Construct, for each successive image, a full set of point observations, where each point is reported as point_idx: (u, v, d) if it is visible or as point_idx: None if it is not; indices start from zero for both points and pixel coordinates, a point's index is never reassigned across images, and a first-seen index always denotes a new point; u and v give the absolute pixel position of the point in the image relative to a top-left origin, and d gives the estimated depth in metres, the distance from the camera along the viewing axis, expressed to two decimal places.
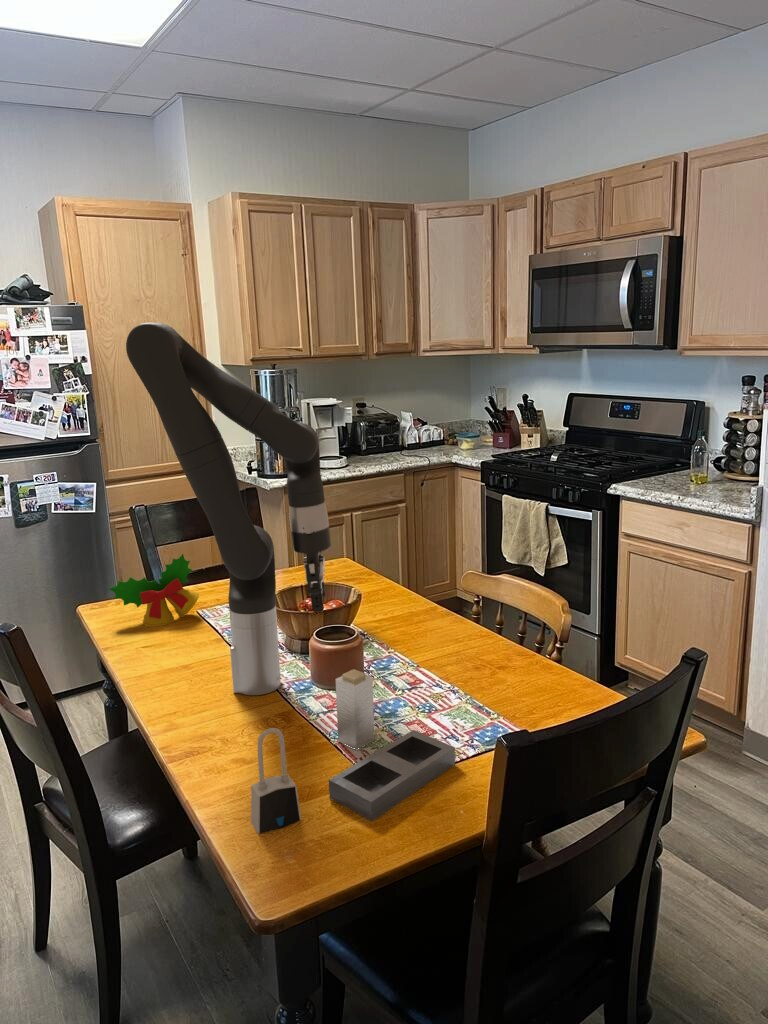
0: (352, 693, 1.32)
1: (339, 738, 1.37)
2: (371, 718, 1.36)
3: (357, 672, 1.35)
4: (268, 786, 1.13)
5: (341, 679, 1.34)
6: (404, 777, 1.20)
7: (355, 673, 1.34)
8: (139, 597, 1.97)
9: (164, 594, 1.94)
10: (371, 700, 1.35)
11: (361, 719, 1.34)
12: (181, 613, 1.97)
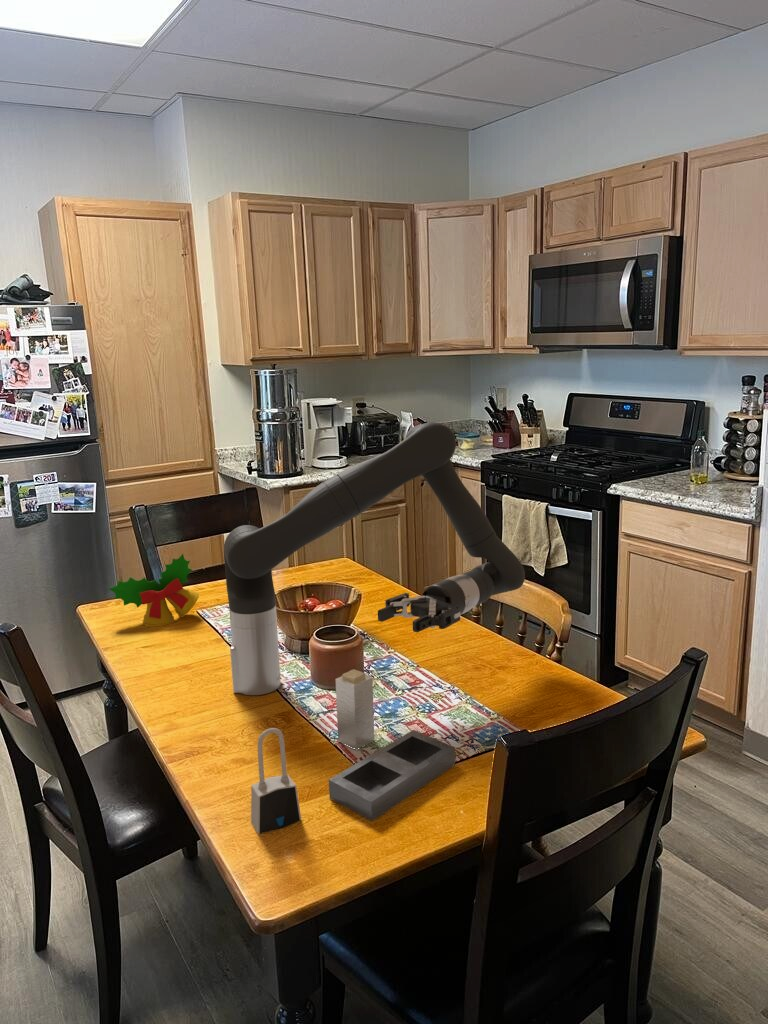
0: (352, 693, 1.32)
1: (339, 738, 1.37)
2: (371, 718, 1.36)
3: (357, 672, 1.35)
4: (268, 786, 1.13)
5: (341, 679, 1.34)
6: (404, 777, 1.20)
7: (355, 673, 1.34)
8: (139, 597, 1.97)
9: (164, 594, 1.94)
10: (371, 700, 1.35)
11: (361, 719, 1.34)
12: (181, 613, 1.97)
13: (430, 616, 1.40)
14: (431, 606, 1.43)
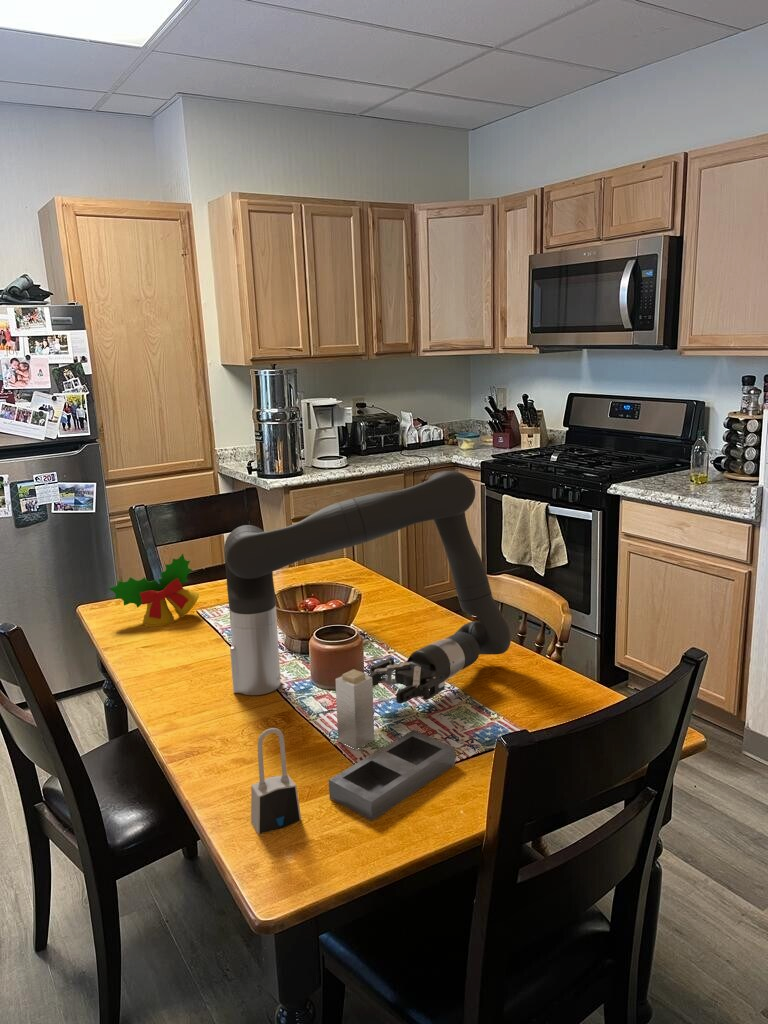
0: (352, 693, 1.32)
1: (339, 738, 1.37)
2: (371, 718, 1.36)
3: (357, 672, 1.35)
4: (268, 786, 1.13)
5: (341, 679, 1.34)
6: (404, 777, 1.20)
7: (355, 673, 1.34)
8: (139, 597, 1.97)
9: (164, 594, 1.94)
10: (371, 700, 1.35)
11: (361, 719, 1.34)
12: (181, 613, 1.97)
13: (414, 686, 1.40)
14: (415, 675, 1.42)
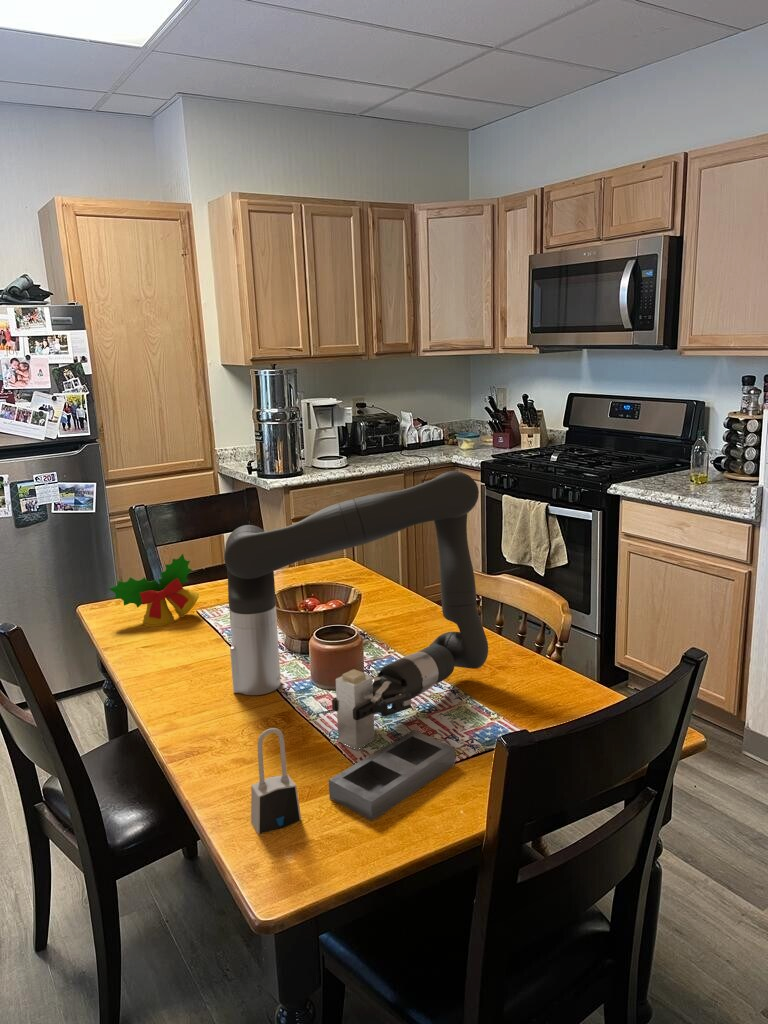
0: (353, 693, 1.32)
1: (339, 738, 1.37)
2: (371, 718, 1.36)
3: (357, 672, 1.35)
4: (268, 786, 1.13)
5: (341, 679, 1.34)
6: (404, 777, 1.20)
7: (355, 673, 1.34)
8: (139, 597, 1.97)
9: (164, 594, 1.94)
10: None
11: (361, 719, 1.34)
12: (181, 613, 1.97)
13: (372, 702, 1.34)
14: (379, 690, 1.37)
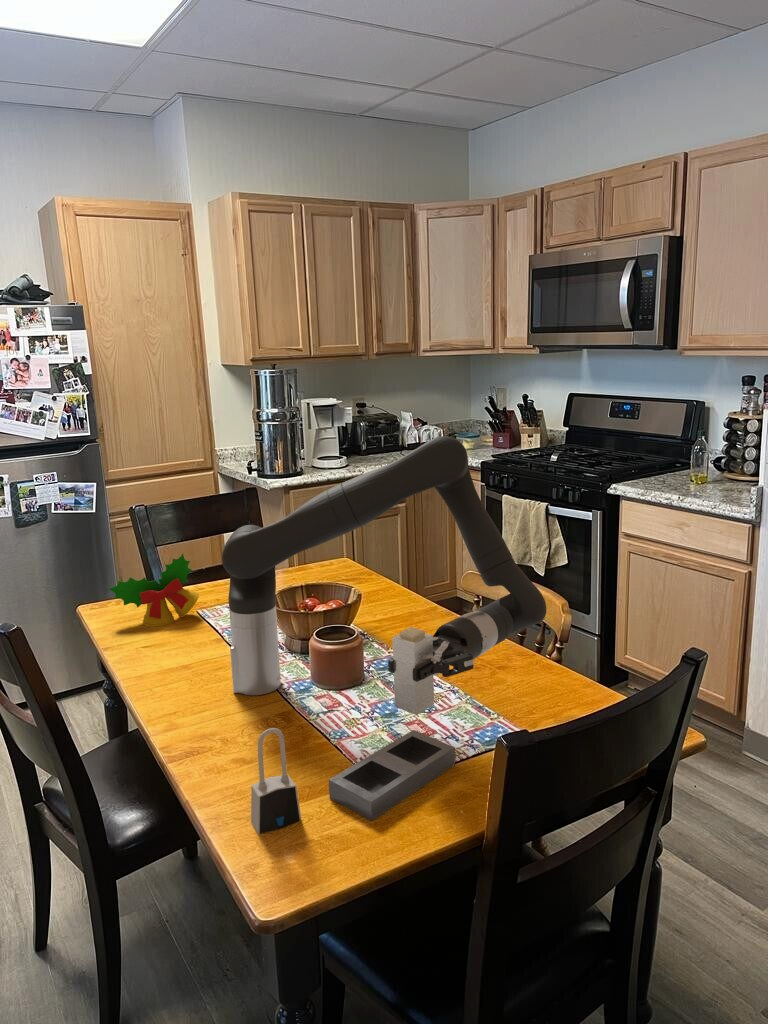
0: (412, 652, 1.21)
1: (396, 702, 1.26)
2: (431, 680, 1.25)
3: (416, 630, 1.24)
4: (268, 786, 1.13)
5: (399, 637, 1.23)
6: (404, 777, 1.20)
7: (414, 631, 1.23)
8: (139, 597, 1.97)
9: (164, 594, 1.94)
10: None
11: (421, 680, 1.23)
12: (181, 613, 1.97)
13: (432, 662, 1.23)
14: (439, 650, 1.26)
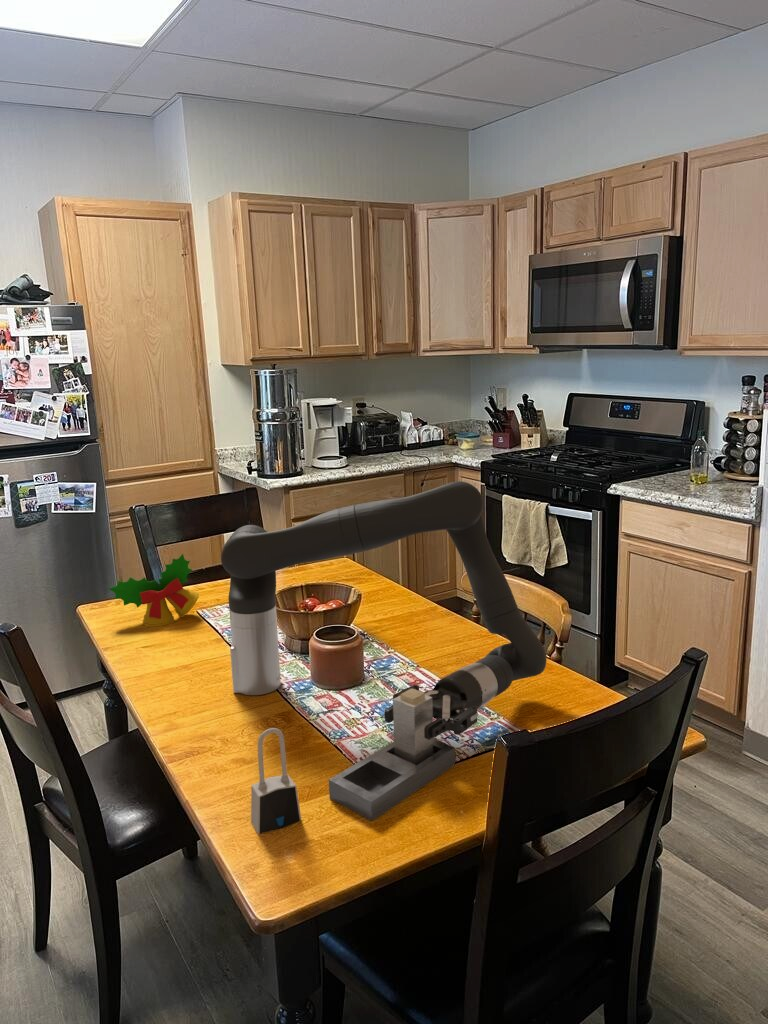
0: (412, 715, 1.23)
1: None
2: (430, 741, 1.27)
3: (416, 692, 1.26)
4: (268, 786, 1.13)
5: (399, 699, 1.25)
6: (404, 777, 1.20)
7: (414, 693, 1.25)
8: (139, 597, 1.97)
9: (164, 594, 1.94)
10: None
11: (420, 742, 1.25)
12: (181, 613, 1.97)
13: (444, 720, 1.24)
14: (445, 706, 1.27)
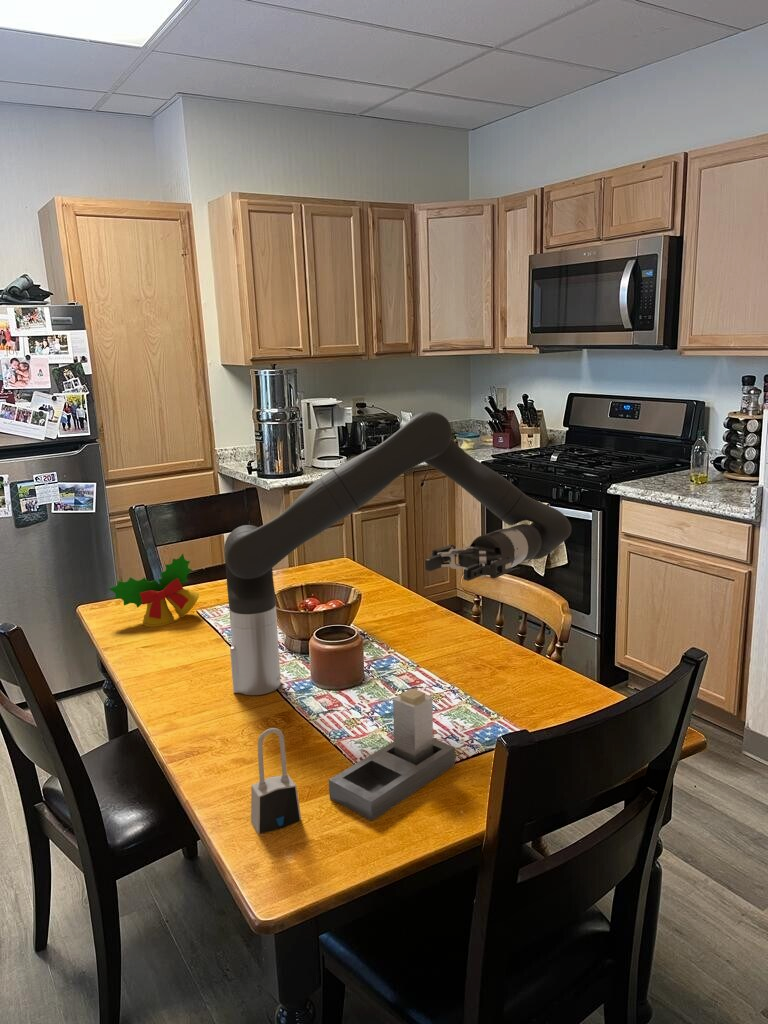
0: (412, 715, 1.23)
1: None
2: (430, 741, 1.27)
3: (416, 692, 1.26)
4: (268, 786, 1.13)
5: (399, 699, 1.25)
6: (404, 777, 1.20)
7: (414, 693, 1.25)
8: (139, 597, 1.97)
9: (164, 594, 1.94)
10: (431, 722, 1.26)
11: (420, 742, 1.25)
12: (181, 613, 1.97)
13: (481, 565, 1.35)
14: (481, 556, 1.38)
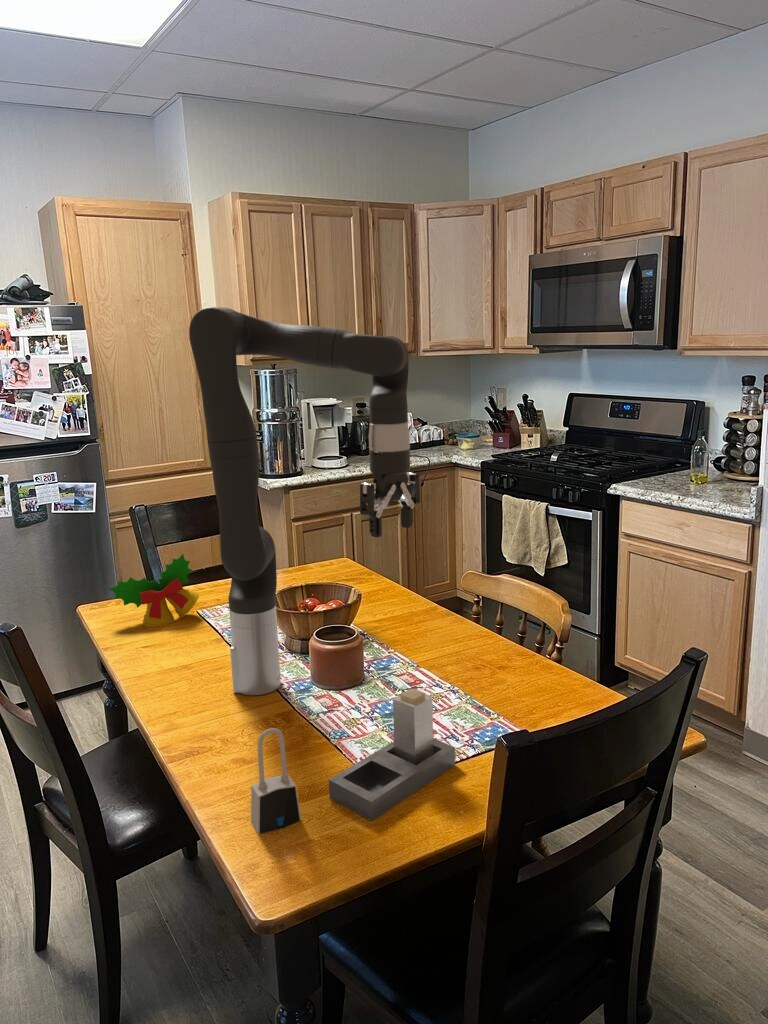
0: (412, 715, 1.23)
1: None
2: (430, 741, 1.27)
3: (416, 692, 1.26)
4: (268, 786, 1.13)
5: (399, 699, 1.25)
6: (404, 777, 1.20)
7: (414, 693, 1.25)
8: (139, 597, 1.97)
9: (164, 594, 1.94)
10: (431, 722, 1.26)
11: (420, 742, 1.25)
12: (181, 613, 1.97)
13: (369, 516, 1.44)
14: None
